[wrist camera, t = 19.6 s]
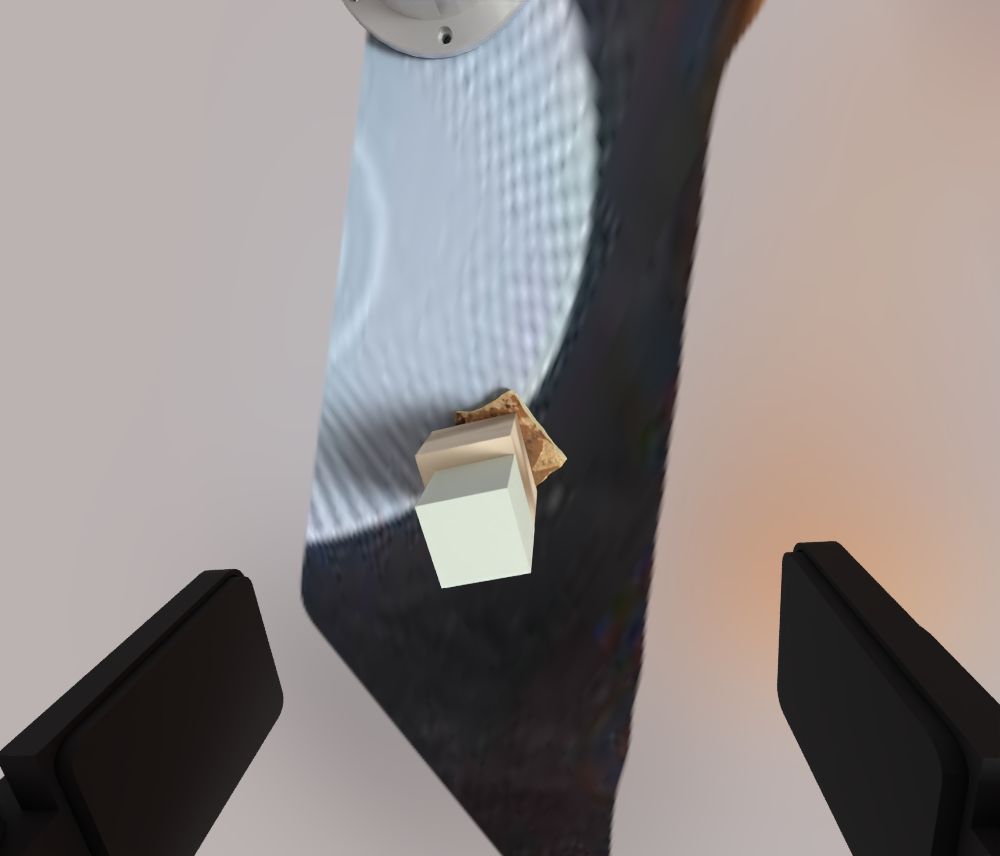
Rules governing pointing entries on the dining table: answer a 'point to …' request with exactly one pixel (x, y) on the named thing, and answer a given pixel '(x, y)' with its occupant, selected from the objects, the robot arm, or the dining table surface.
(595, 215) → the dining table surface
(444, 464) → the beige metal block
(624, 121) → the dining table surface
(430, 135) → the dining table surface
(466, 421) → the shard
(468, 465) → the sage block
